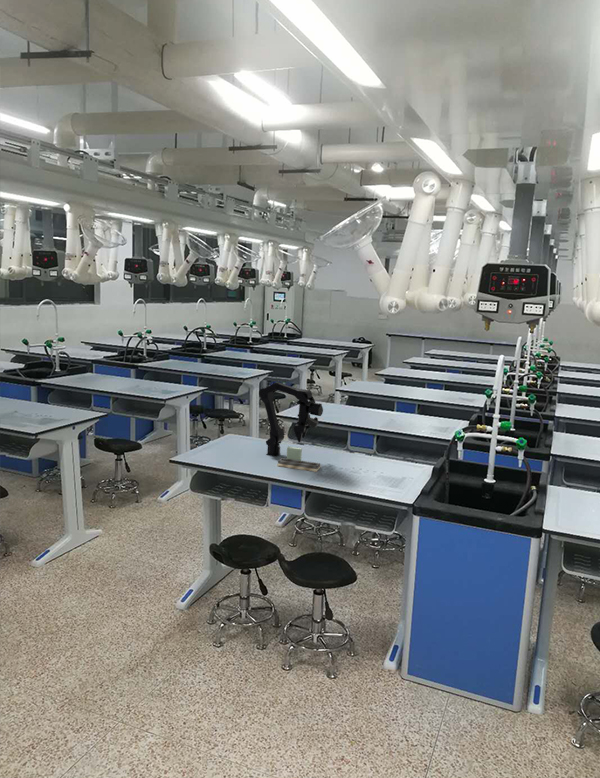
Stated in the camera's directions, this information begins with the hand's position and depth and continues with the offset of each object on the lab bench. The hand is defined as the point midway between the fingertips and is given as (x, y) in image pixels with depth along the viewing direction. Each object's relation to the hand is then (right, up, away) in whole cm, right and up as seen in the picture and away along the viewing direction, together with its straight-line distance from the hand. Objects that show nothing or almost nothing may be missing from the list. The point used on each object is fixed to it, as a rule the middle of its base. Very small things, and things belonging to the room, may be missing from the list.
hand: (301, 439), depth 322 cm
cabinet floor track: (-1, -14, -9) cm, 17 cm away
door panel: (-4, -11, +2) cm, 12 cm away
